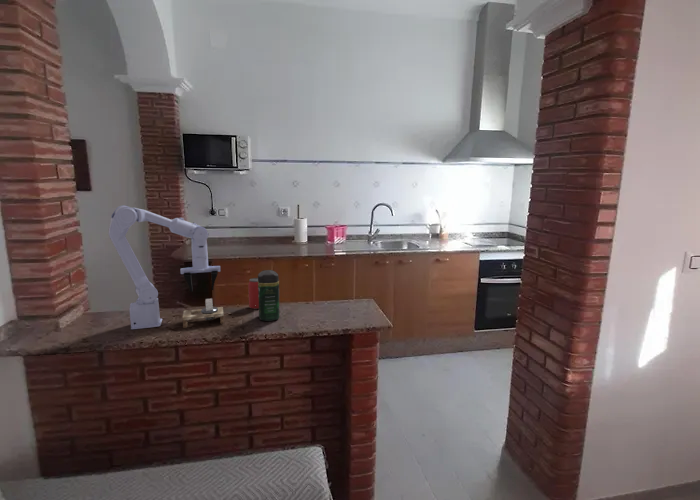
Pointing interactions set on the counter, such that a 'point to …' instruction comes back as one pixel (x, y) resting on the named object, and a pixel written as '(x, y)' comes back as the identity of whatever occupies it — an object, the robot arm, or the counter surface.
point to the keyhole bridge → (201, 315)
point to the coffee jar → (268, 295)
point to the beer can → (253, 293)
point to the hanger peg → (209, 309)
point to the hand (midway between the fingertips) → (202, 290)
